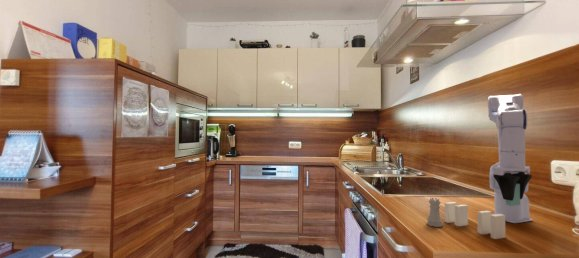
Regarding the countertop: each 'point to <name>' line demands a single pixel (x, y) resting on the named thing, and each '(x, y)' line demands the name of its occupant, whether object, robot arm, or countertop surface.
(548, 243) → the countertop surface
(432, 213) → the rook chess piece
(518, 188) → the domino
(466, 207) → the domino
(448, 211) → the domino
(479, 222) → the domino
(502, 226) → the domino
